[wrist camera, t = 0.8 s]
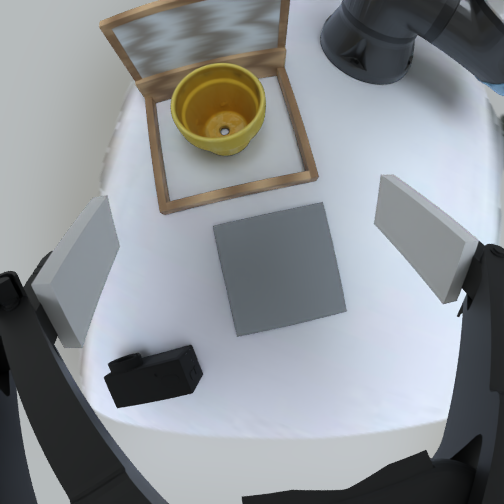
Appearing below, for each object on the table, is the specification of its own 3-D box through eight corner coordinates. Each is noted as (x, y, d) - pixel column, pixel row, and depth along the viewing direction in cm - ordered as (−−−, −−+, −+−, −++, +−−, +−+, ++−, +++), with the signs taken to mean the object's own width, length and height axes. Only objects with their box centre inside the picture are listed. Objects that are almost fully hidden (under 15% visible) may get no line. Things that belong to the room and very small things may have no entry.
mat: (321, 203, 39) (322, 202, 39) (345, 310, 39) (346, 311, 38) (213, 226, 40) (212, 226, 39) (237, 335, 39) (237, 336, 38)
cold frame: (280, 66, 40) (288, -23, 23) (316, 181, 40) (354, 120, 22) (148, 96, 41) (99, 21, 23) (164, 214, 40) (99, 178, 22)
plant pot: (176, 157, 40) (153, 127, 30) (205, 94, 41) (193, 54, 31) (248, 180, 40) (245, 154, 30) (275, 113, 40) (279, 74, 30)
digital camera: (189, 335, 39) (175, 349, 32) (204, 373, 39) (193, 393, 32) (122, 354, 39) (99, 368, 32) (136, 389, 39) (116, 408, 32)
